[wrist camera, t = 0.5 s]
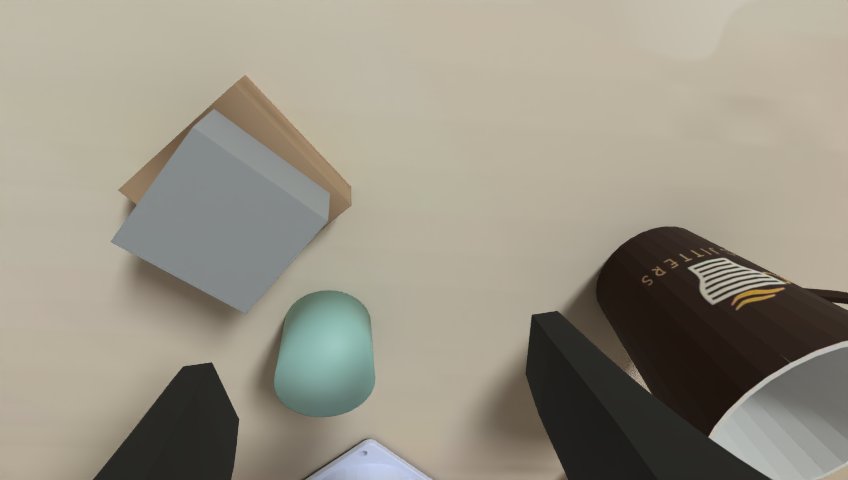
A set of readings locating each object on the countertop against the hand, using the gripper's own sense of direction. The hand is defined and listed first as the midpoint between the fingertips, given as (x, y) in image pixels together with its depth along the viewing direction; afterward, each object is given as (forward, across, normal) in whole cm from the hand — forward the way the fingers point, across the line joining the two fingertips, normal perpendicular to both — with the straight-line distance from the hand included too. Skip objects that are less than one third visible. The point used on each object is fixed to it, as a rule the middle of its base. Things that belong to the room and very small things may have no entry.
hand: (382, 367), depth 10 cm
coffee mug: (+11, -16, +9) cm, 21 cm away
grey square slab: (+9, +5, 0) cm, 10 cm away
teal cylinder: (+10, +3, +8) cm, 14 cm away
